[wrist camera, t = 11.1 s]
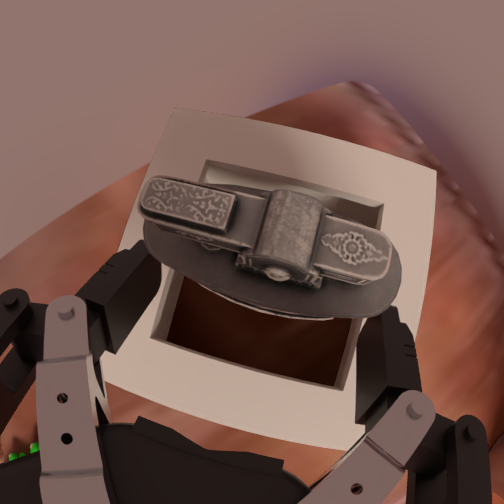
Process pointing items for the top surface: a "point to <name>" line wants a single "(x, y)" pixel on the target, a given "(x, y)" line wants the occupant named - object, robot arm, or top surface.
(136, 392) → the slot box
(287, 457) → the top surface
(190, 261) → the lighter
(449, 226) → the top surface
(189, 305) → the top surface
